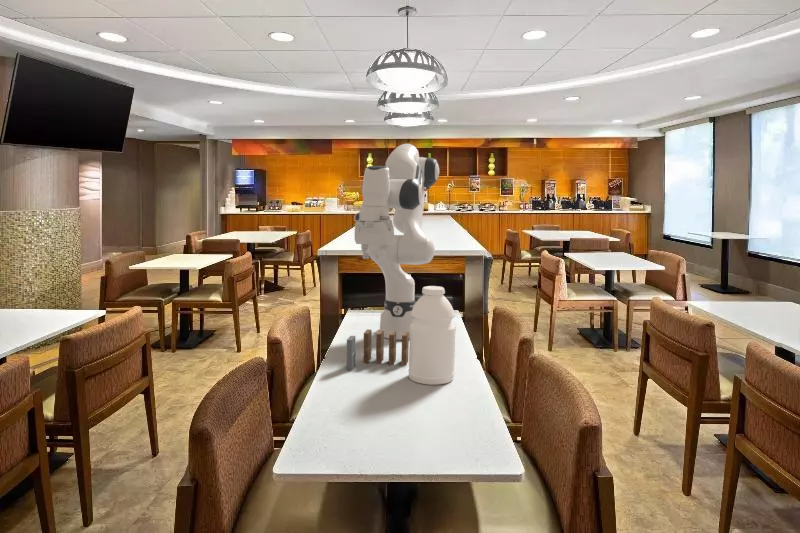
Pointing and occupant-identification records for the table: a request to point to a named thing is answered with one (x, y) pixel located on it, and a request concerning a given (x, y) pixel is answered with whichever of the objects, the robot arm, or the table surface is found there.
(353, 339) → the end domino
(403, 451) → the table surface
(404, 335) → the domino
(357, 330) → the table surface
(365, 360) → the domino
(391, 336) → the domino
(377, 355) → the domino
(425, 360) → the bottle
